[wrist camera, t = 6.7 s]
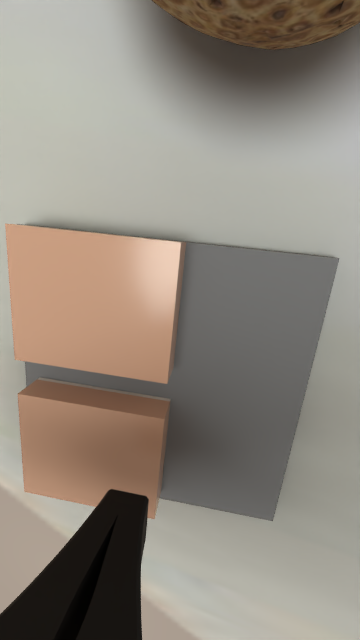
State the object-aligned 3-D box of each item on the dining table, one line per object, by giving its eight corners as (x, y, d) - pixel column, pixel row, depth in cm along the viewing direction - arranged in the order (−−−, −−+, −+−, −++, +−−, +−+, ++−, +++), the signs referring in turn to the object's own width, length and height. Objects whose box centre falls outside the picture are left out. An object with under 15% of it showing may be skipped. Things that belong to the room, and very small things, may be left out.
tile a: (181, 242, 9) (5, 223, 10) (167, 384, 10) (15, 359, 11) (186, 242, 10) (33, 225, 11) (173, 366, 12) (38, 346, 12)
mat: (333, 257, 10) (339, 258, 10) (270, 511, 14) (272, 520, 13) (25, 224, 12) (16, 224, 11) (37, 464, 15) (31, 472, 14)
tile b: (164, 419, 11) (17, 393, 11) (154, 519, 12) (24, 491, 13) (170, 398, 12) (40, 376, 13) (161, 490, 14) (44, 466, 14)
